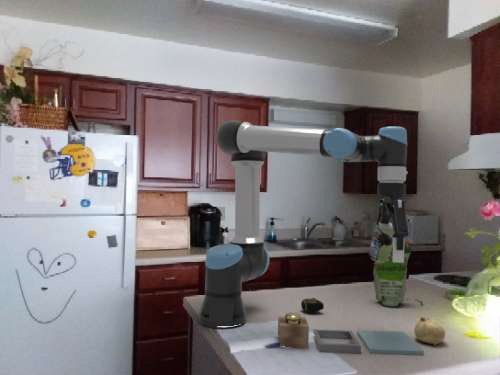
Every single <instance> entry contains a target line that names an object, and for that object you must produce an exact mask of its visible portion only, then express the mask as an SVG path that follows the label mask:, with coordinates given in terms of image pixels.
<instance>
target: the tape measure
mask: <svg viewBox="0 0 500 375" xmlns="http://www.w3.org/2000/svg"><path fill="white" fill-rule="evenodd" d="M300 305H301V310H303V311H304V312H307V313H316V312H319V311H322V310H324V308H325V306H324V303H323V302H322V301H321V300H319V299H317V298H315V297H311V298H309V297H308V298H304V299H302V300H301V302H300Z"/></svg>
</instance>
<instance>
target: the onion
mask: <svg viewBox="0 0 500 375" xmlns="http://www.w3.org/2000/svg"><path fill="white" fill-rule="evenodd" d="M413 331H414V335H415V337H416V338H417V339H418V340H419V341H420V342H422V343H427V344H430V345H433V346H437V345H438V344H441V343H442V342H443V341H444V339H445V337H446V331H445V328H444V327H443V325H442V324H441V323H440V322H438V321H437V320H434V319H432V318H430V317H429V316H421V317H420V318H419V320H418V321H417V322H416V323H415V326H414V330H413Z"/></svg>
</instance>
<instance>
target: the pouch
mask: <svg viewBox="0 0 500 375" xmlns="http://www.w3.org/2000/svg"><path fill="white" fill-rule="evenodd" d="M411 244H412V242H410V241H409V240H404V263H399V262H393V247H392V251H391V254H390V258H389V261H387V262H384V263H381V262H376V261H374V263H373V271H372V274H373V277H374V278H373V284H374V291H375V299H376V300H377V301H380V302H382V306H385V307H398V306H399V304H400V303H403V302H404V301H405V297H406V296H405V295H406V291H407V286H406V284H407V281H406V280H407V272H408V267H407V266H408V265H409V264H408V262H409V261H408V260H409V258H410V255H411V253H412V245H411Z"/></svg>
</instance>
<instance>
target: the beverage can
mask: <svg viewBox="0 0 500 375" xmlns="http://www.w3.org/2000/svg"><path fill="white" fill-rule="evenodd" d="M375 225H376V224H375ZM373 232H374V233H373V236H372V240H371V243H370V247H369V250H368V251H369V252H368V256H369V257H370V259H371V260H372V261H374V262H381V263H384V262H387V261H389V258H390V254H391V251H392V247H393V237H392V236H393V234H394V231H393V227H392V222H390V221H389V224H383V223H380V222H379V224H377V225H376V228H374V231H373Z"/></svg>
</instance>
